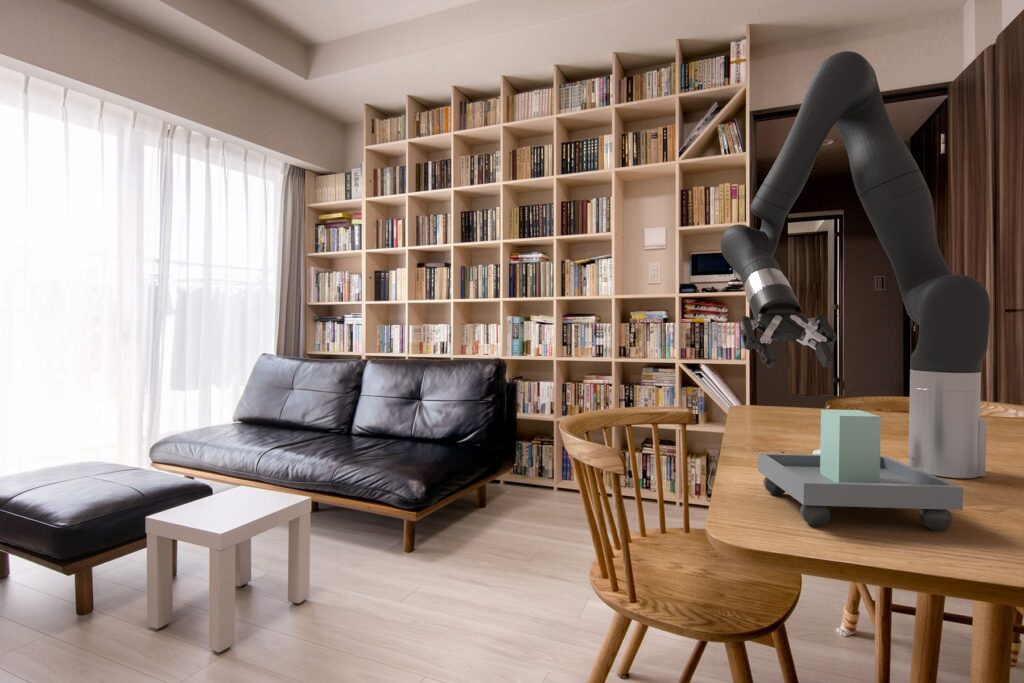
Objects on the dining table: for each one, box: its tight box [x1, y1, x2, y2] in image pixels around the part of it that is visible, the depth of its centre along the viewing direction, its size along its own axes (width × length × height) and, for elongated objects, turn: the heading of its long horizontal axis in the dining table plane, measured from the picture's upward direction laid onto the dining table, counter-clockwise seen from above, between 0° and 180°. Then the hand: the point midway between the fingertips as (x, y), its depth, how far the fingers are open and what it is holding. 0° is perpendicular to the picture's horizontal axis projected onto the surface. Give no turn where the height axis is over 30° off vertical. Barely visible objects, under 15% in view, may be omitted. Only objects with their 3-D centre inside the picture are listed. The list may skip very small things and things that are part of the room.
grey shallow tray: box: [757, 452, 964, 532], centre depth 70 cm, size 18×15×6 cm
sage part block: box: [819, 409, 882, 483], centre depth 70 cm, size 5×5×9 cm
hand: (799, 364), depth 84 cm, fingers open, 8 cm apart
